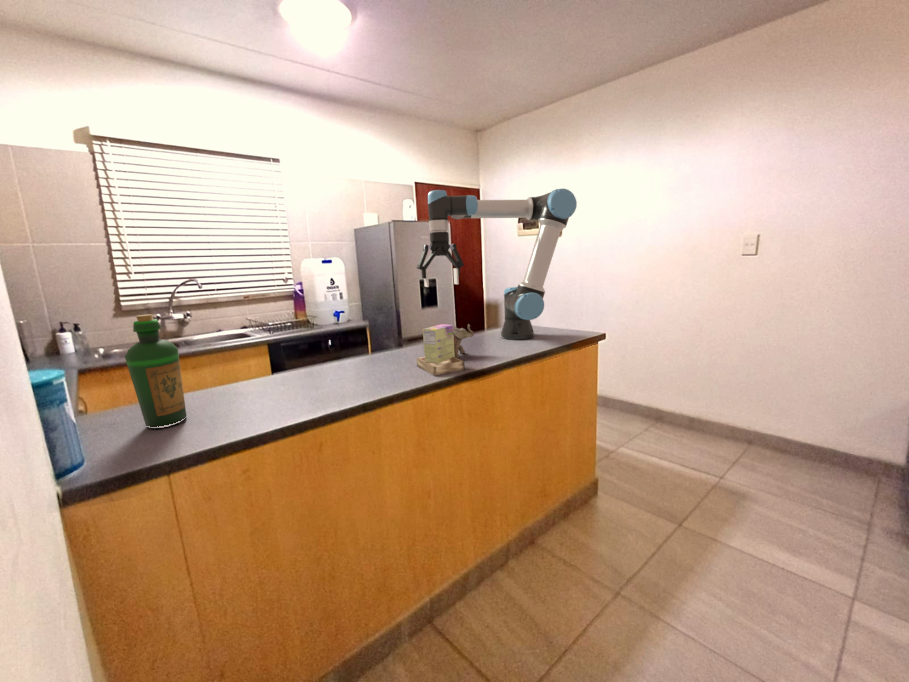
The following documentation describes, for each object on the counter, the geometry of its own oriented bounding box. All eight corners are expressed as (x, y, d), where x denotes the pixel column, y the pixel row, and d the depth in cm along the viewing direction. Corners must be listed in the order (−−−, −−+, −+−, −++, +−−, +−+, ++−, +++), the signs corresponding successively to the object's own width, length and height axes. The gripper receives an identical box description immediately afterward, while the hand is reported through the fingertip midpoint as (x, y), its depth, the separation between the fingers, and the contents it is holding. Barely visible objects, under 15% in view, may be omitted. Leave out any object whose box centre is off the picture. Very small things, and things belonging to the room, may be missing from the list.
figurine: (467, 367, 152) (475, 330, 147) (430, 360, 152) (437, 323, 147) (467, 359, 161) (475, 324, 157) (433, 352, 161) (439, 317, 156)
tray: (445, 360, 149) (445, 353, 149) (464, 369, 137) (464, 361, 136) (417, 366, 144) (416, 358, 143) (434, 375, 131) (433, 367, 131)
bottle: (183, 428, 98) (160, 316, 92) (133, 435, 95) (106, 320, 89) (197, 412, 108) (177, 310, 102) (152, 418, 105) (129, 314, 99)
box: (442, 355, 146) (440, 323, 143) (455, 357, 142) (453, 324, 140) (424, 362, 137) (422, 328, 135) (437, 364, 134) (435, 329, 131)
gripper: (461, 232, 167) (463, 282, 172) (406, 233, 156) (410, 287, 160) (470, 230, 161) (472, 283, 165) (413, 231, 149) (417, 288, 154)
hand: (441, 285), depth 163 cm, fingers open, 13 cm apart
